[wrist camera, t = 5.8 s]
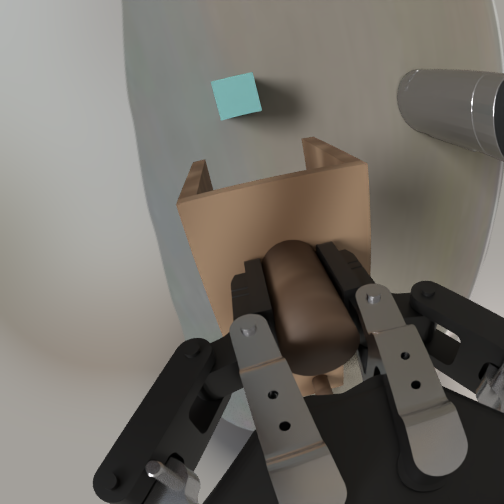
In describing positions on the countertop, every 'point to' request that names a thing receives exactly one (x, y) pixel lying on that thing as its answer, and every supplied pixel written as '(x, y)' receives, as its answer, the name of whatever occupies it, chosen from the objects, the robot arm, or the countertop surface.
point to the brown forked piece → (285, 248)
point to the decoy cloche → (320, 382)
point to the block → (236, 96)
